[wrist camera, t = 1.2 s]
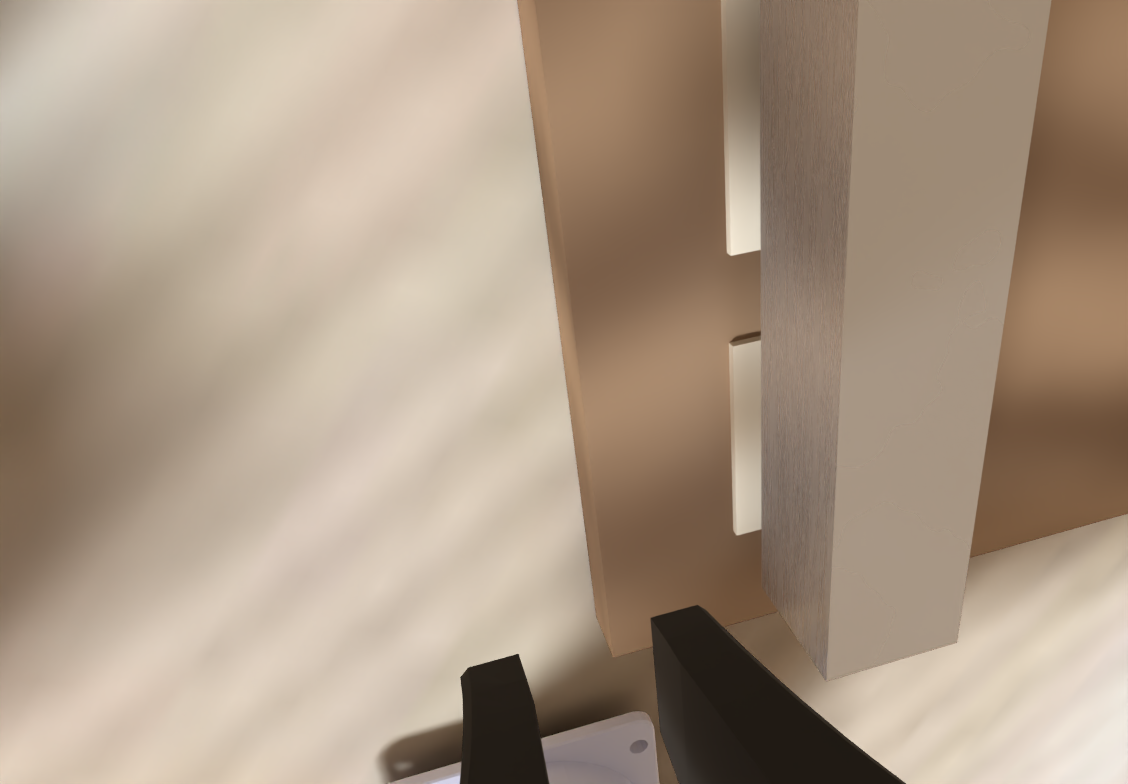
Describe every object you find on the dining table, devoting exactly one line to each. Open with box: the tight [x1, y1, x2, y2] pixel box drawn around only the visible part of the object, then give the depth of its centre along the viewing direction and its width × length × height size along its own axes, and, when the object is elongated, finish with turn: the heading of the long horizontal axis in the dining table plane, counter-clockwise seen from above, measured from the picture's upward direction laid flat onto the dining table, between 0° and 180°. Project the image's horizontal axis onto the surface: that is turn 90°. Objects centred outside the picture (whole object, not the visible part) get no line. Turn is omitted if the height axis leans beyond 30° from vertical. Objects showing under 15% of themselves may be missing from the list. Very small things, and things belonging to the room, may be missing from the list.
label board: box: [517, 0, 1128, 658], centre depth 19 cm, size 20×16×2 cm
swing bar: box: [760, 0, 1051, 681], centre depth 15 cm, size 18×4×3 cm, turn 7°
